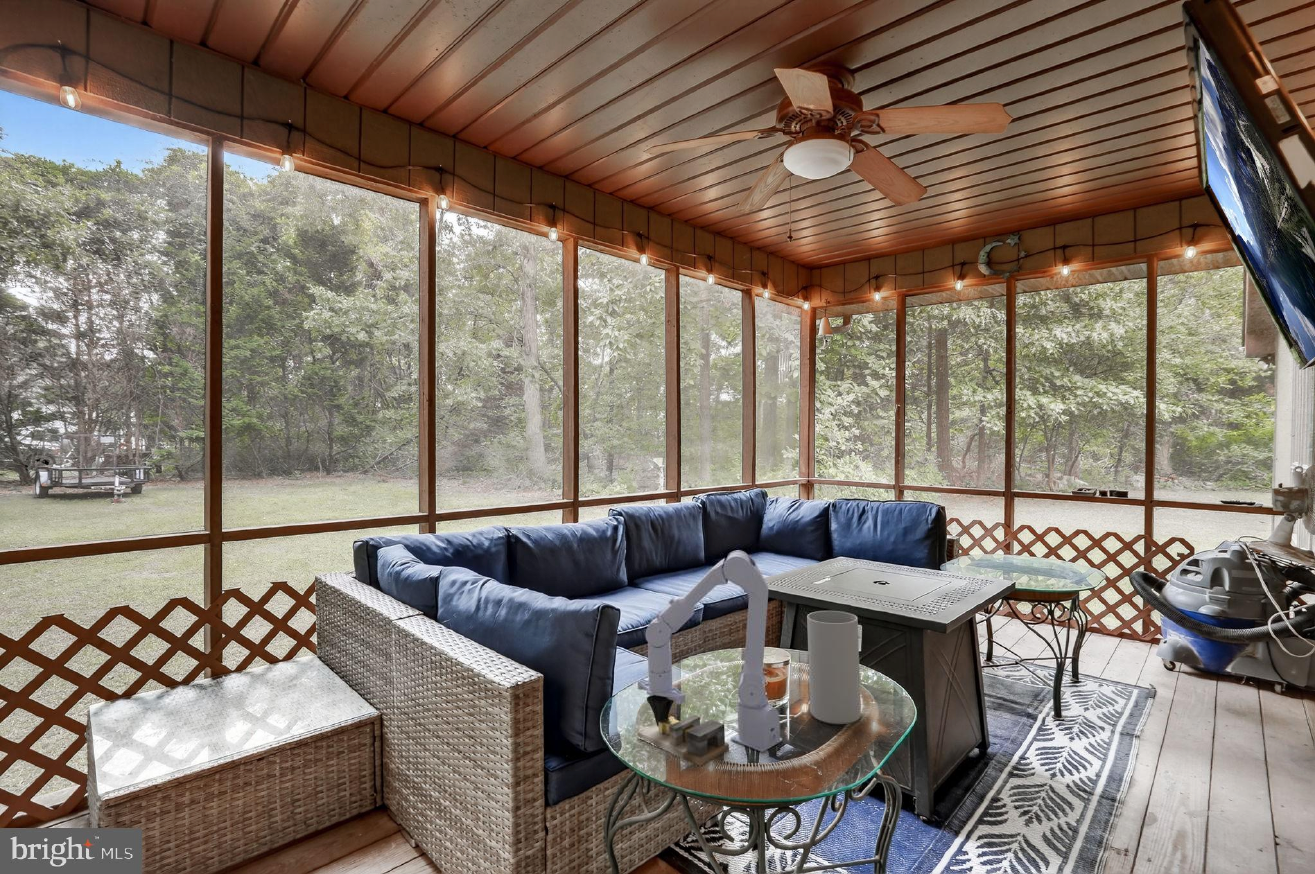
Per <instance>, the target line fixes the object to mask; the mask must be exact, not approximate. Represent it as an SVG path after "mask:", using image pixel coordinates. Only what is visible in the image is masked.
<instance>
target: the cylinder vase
mask: <svg viewBox="0 0 1315 874" xmlns="http://www.w3.org/2000/svg"><path fill="white" fill-rule="evenodd" d="M806 618H807V621H806V622H807V647H808V649H807V650H808V651H807V654H808V682H809V686H808V687H809V709H810V714H811V715H812V717H814V718H815V719H816V720H819V722H823V723H826V724H832V725H847V724H853V723H854V722H857V721H858V720H859V719H860V718H861V714H862V708H861V680H860V679H861V677H860V654H859V653H860V651H859V650H860V649H859V648H860V647H859V623H858V616H857V615H855V614H853V613H849V612H846V611H838V610H818V611H814V612H810V613H809V614H807V616H806Z"/></svg>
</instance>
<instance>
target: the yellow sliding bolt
mask: <svg viewBox="0 0 1315 874" xmlns="http://www.w3.org/2000/svg"><path fill="white" fill-rule="evenodd" d="M679 721H680V720H678V719H676V717H674V716H673V715H671V716H668V718H666V719H664V720H662V721H660V722H659V733H661V734H663V733H666V734H668V735H669V726H670V725H672V724H674V723H677V722H679ZM692 728H694V727H693V726H689V727H687V728H685V729H683V741H684V742H687V733H686V731H688V730H690V729H692Z"/></svg>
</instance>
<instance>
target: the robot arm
mask: <svg viewBox="0 0 1315 874" xmlns="http://www.w3.org/2000/svg"><path fill="white" fill-rule="evenodd" d="M728 582H730V583H732V584H734V585H735V586H738V587H739V588H741V589H742V591H744V592H745V594H747V596H748V608H747V620H746V621H747V622H746V636H745V649H744V661H743V662H744V663H743V669H742V671H741V672H740V675H739V685H738V690H737V704H736V705H737V728H738V730H737V732H738V733H736V734H735V735H732V736H731V737H730V740H731V741H733V742H735V743H739V744H740V745H744V746H746V747H749V748H751V749H754V750H757V751H759V752H761V753H763V752H765V751H767V750H768V749H770V748H772V747H773V746H775V745H778V744H779V743H780V742H782V741H783V738H782V737H781V726H780V724H781V723H780V722H781V721H780V718H781V717H780V712H779V711H778V709H777V708H775V707H773V706H772V705H771V704H770V703H769V699H768V697H767V695H766V694H767V693H766V681H767V680H766V676H765V673H764V672H763V671H764V659H765V658H764V656H765V644H766V629H767V613H768V599H769V585H768V583H767V581H766V579H765V577H764V576H763V573H761V570H760V568H759V567H758V565H757V562H756V560H754V558H753V557H752V556H750V555H749V554H748V553H747V552H745V551H743V550H740V549H738V550H733V551H731V552H729V553H728V554H727V557H726V558H723V559H721V560H720V561H719V562H718V563H716V564H715V565H714V566H713V567H712V568H711V569H709V571H707V573H706V574H704V576H703V577H702V578H701V579H700V580H699V581H698V582H697V583H696V584H695V585H694V586H693V587H692V589H691V590H689V592H688V593H687V594H686V595H683V596H680V595H679V596H676V597H675V598H674V597H671V598H670V599H669V600H668V605H667V606H666V607H665V608H664V609H663V610H662V611H661V612H657V614H655V618H653V619H652V620H651V621H650V623H649V624H648V626H647V628H646V630H645V635H644V636H645V640H646V641H647V647H648V649H647V665H648V666H647V669H648V672H647V673H648V680H647V679H641V680H638V681H637V689H638V690H639V691H640V690H641V691H642V690H644V691H646V695H648V696H647V697H646V701H647V703H648V705H649V706H650V708H651V711H652V712H653V713H652V714H653V716H654V719H655V724H657V726H658V727H659V722H660V721H662V720H664V719H666V718H668V717H669V715H670V711H671V708H672V707H673V704H674V702H676V704H677V705H681V704H684V703H686V694H685V693H684V692H681V690H679V689H677V687H675V686H674V685H673V668H672V666H673V665H672V662H673V661H672V648H671V638H670V637H671V636H672V635H673V633H676V632H678V631H679V629H680V628H681V627H683V625H685V623H686V622H688V620H689V619H690V618H691V617H693V615H694V614H695V606H696V605H697V604H698V603H699V602H700V601H701V600H702V599H704V597H706V595H708V594H709V593H710V592H711V591H712V590H714V588H715V587H717V586H721V585H723V586H725V585H728Z"/></svg>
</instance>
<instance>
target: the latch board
mask: <svg viewBox="0 0 1315 874" xmlns="http://www.w3.org/2000/svg"><path fill="white" fill-rule="evenodd" d="M678 721H679V722H677V723H674V724H672V725H670V726H669V735H668V734H666V733H663V734H661V733H659V727H658V726H657V724H656V723H655V724H653V725H651V726H648V727H646V728H644V729H642V730H640V731H637V737H638V736H639V737H640V738H643V739H644V740H646V741H649V742H650V743H653V744H654V745H656V746H658V747H661V748H662V749H664V750H663V751H665V750H667V751H669V752H671V753H672V755H674V754H676V755H677V756H676V755H675V756H676V757H678V756H679V757H678V758H681V759H682V758H683V759H682V760H685V761H687V762H689V761H690V763H692V764H694V763H695V764H694V765H696V766H698V765H699V766H698V767H702V766H703V765H705V764H707V763H708V762H710V761H712V760H714V759H716V758H718V757H720V756H722V755H723V754H724V753H727V752H728V751H730V743H729V742H726V738H725V736H726V734H725V724H724V723H723V722H719V721H716V720H714V719H709V720H707V721H704V722H703V723H701V716H699V715H696V714H691V715H690V716H688V717H685V718H684V719H682V720H678ZM689 726H693V727H694V728H692V729H690V730H688V731H686V733H687V742H684V741H683V729H685V728H687V727H689ZM654 745H653V746H654ZM656 746H655V747H656ZM658 747H657V748H658ZM662 749H661V750H662ZM667 751H666V752H667ZM669 752H668V753H669ZM671 753H670V754H671Z"/></svg>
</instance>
